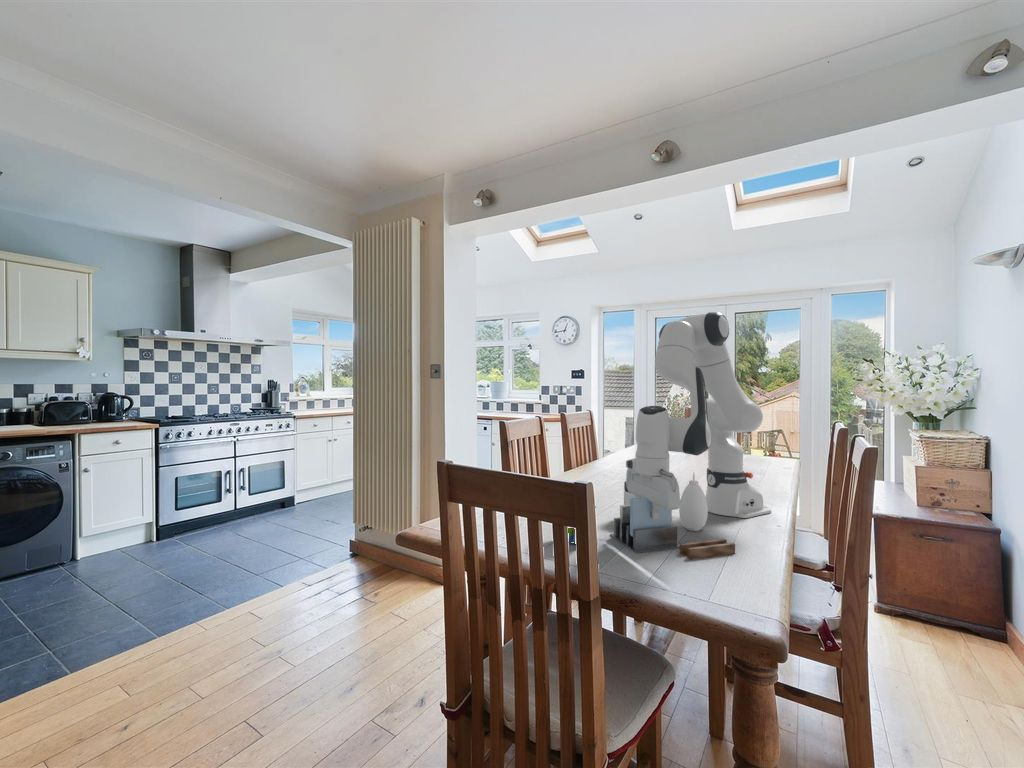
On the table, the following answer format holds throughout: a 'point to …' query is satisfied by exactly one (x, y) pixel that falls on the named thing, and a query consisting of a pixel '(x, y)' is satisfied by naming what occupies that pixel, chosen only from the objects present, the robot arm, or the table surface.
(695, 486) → the sauce bottle
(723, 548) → the plate stand
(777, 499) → the table surface
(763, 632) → the table surface
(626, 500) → the jar
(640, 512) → the plate
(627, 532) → the dish rack
